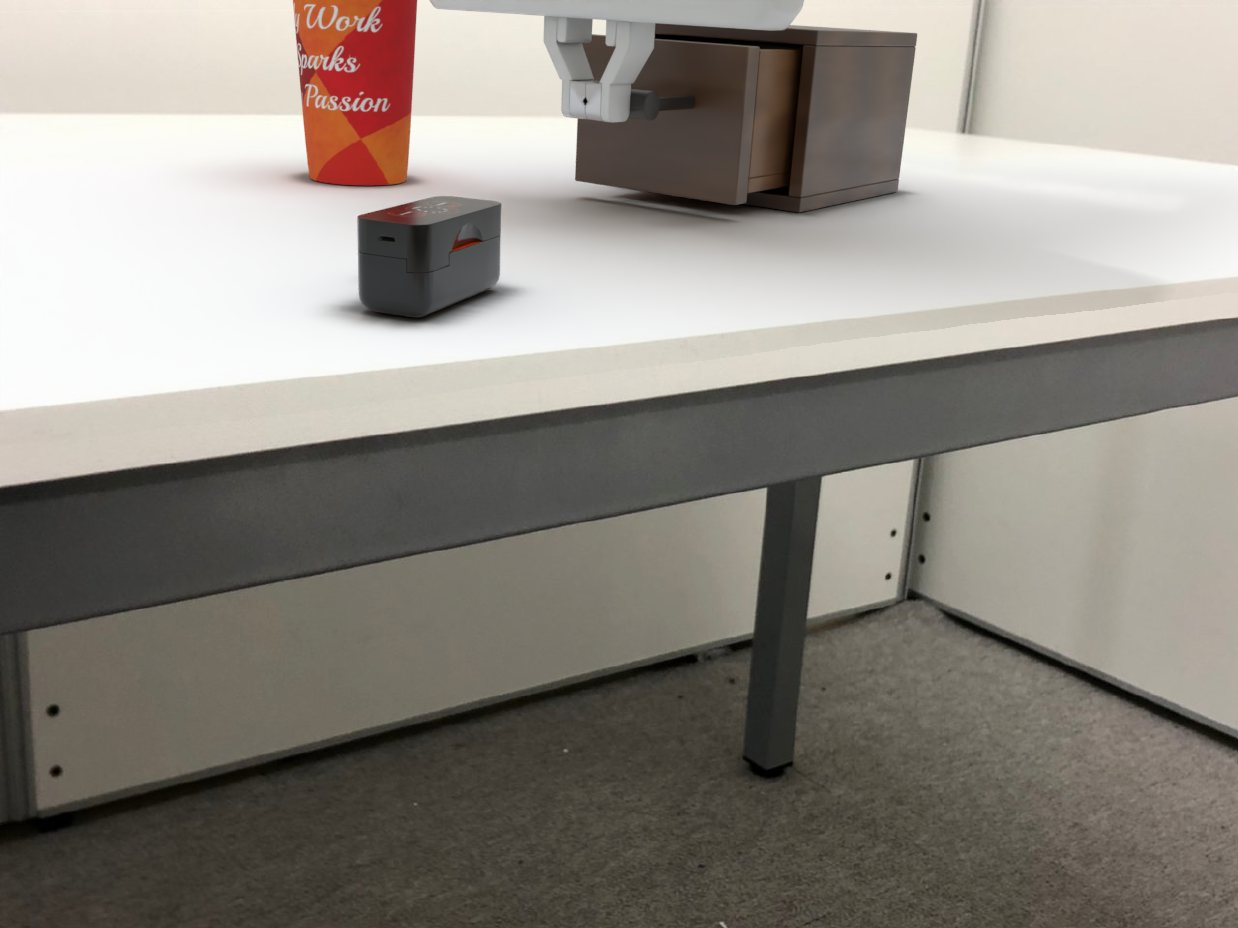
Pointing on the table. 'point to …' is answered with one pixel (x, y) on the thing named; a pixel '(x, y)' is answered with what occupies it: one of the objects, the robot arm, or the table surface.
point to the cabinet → (835, 110)
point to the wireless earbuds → (427, 254)
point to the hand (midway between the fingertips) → (594, 119)
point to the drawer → (697, 121)
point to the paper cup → (356, 88)
